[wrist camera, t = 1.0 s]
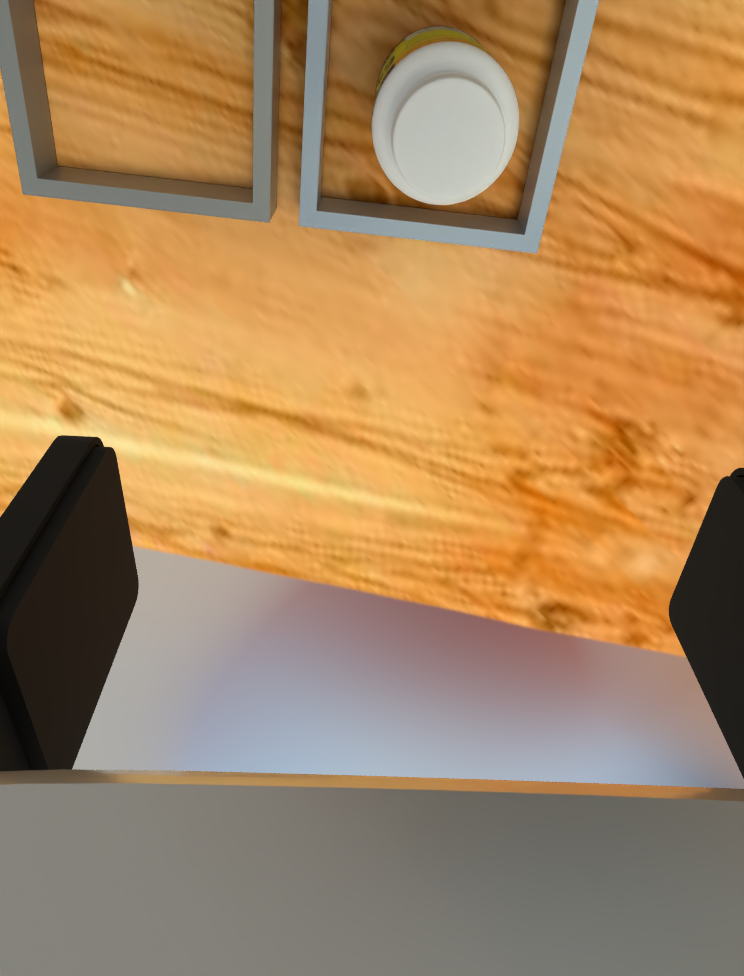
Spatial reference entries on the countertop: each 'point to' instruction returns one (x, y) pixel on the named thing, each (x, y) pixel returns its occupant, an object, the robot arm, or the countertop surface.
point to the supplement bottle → (443, 117)
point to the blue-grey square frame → (435, 222)
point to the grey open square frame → (16, 50)
